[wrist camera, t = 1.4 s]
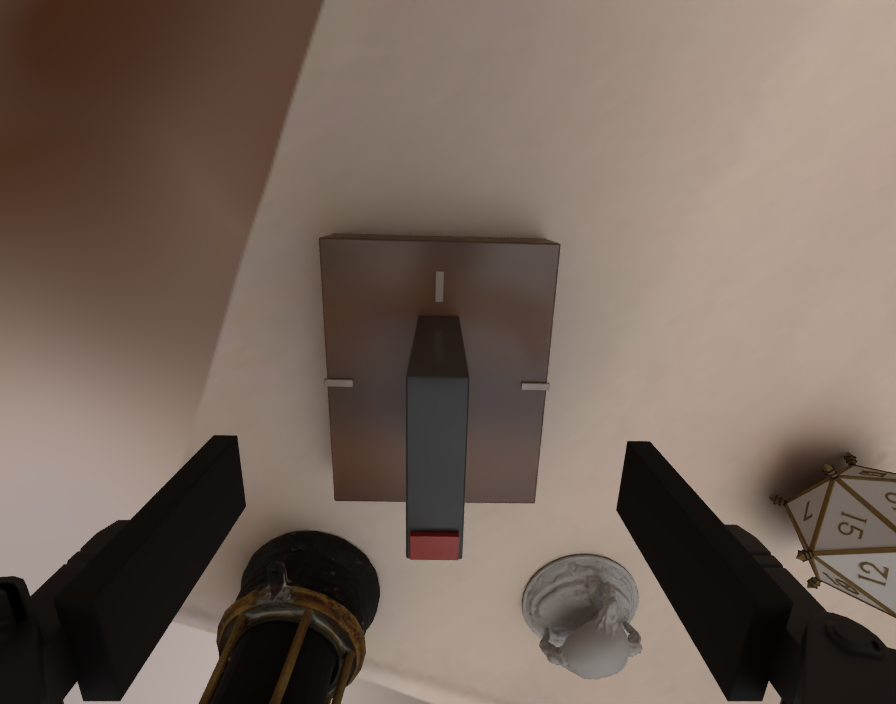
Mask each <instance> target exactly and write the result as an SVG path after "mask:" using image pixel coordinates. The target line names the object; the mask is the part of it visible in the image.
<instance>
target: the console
mask: <svg viewBox="0 0 896 704" xmlns="http://www.w3.org/2000/svg"><path fill="white" fill-rule="evenodd" d="M319 247H320V264H321V281H322V297H323V314H324V331H325V348H326V365H327V379H324V385H325V386H328V398H329V415H330V432H331V449H332V466H333V483H334V499H335V501H388V502H406V373H407V368H408V363H409V358H410V353H411V348H412V344H413V339H414V334H415V329H416V324H417V319H418V316H445V317H460V322H461V328H462V334H463V340H464V346H465V352H466V358H467V364H468V370H469V376H470V387H469V410H468V433H467V456H466V479H465V502H467V503H535V496H536V486H537V476H538V466H539V455H540V445H541V435H542V425H543V415H544V405H545V395H546V390H549V386H550V384H549V383H547V375H548V365H549V354H550V344H551V334H552V324H553V314H554V304H555V294H556V284H557V274H558V263H559V253H560V244H559V243H556V242H553V241H550V240H547V239H532V238H493V237H454V236H415V235H375V234H336V233H335V234H331V235H327V236H324V237H320V238H319Z"/></svg>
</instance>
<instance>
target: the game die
mask: <svg viewBox="0 0 896 704" xmlns="http://www.w3.org/2000/svg"><path fill="white" fill-rule="evenodd" d="M844 458H845V460H846V463H847V464H848V465H849V466H847V467H845V468H843V469H842V470H840V471H838V472H836V470H835V468H834V467H833V466H832V465H831V466H830V465H828V464H824V469H823V472H825V475H827V476H829V477H828V478H826V479H824V480H822V481H820V482H819V483H817V484H815V485H813V486H812V487H810V488H808V489H806V490H805V491H803V492H801V493H799V494H798V495H796V496H794V497H792V498H791V499H789V500H784V499H782V497H781V498H780V497H778V496H777V495H776V496H773V497H769V498H770V499H771V500H772V501H773V502H774V504H778V505H779V506H780V505H784V506H785V507H786V509H787V512H788V514H789V516H790V519H791V521H792V523H793V526H794V528H795V530H796V532H797V535H798V537H799V539H800V542H801V544H802V546H803V549H804V550H802V551H800V550H798V555H797V557H796V558H797V559H800V560H802V561H803V562H804V561H807V560H809V562H810V565H811V567H812V569H813V572H814V574H815V576H816V577H814V578H813V577H812V578H811V579H809V580H808V581H807V582H808V585H807V588H816V589H817V587H818V586H820V583H821V582H824V583H826V584H828V585H830V586H832V587H834V588H836V589H838V590H840V591H842V592H844V593H846V594H848V595H850V596H852V597H854V598H856V599H858V600H860V601H862V602H864V603H866V604H868V605H870V606H872V607H874V608H876V609H878V610H880V611H882V612H885V613H887V614H889V615H891V616H893V617H895V618H896V473H891V472H886V471H882V470H877V469H872V468H868V467H863V466H858V465H856V462H857V461H856V459H855V458H856V457H855V456H853V455H851V454H850V453H849V452H848V453H847V454H846V456H844Z"/></svg>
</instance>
